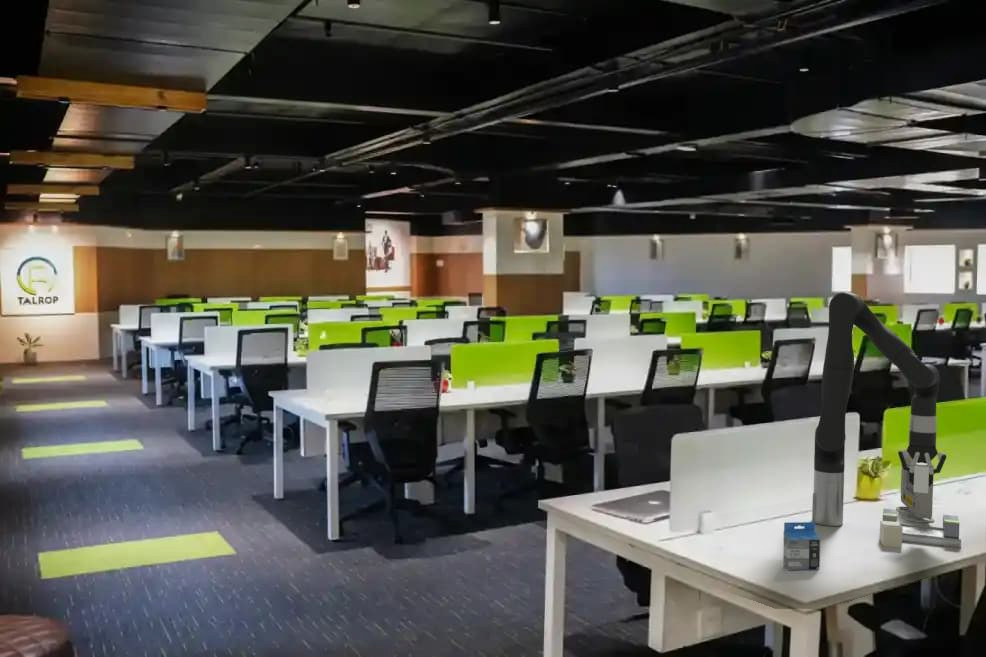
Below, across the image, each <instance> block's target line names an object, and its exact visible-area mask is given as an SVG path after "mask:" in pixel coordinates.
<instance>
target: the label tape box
mask: <svg viewBox="0 0 986 657" xmlns="http://www.w3.org/2000/svg"><path fill="white" fill-rule="evenodd" d="M783 524H784V525H783V527H784V528H783V551H782V552H783V557H782V558H783V559H782V560H783V562H782V563H783V565H782V566H783V567H784V568H785V569H786V570H787V571H801V570H802V571H804V570H806V571H807V570H808V571H809V570H810V571H814V570H817V571H818V570H819V571H820V566H821V565H820V564H821V562H820V561H821V558H820V556H821V555H820V554H821V553H820V552H821V539H820V538H819V536H818V534H817V532H816V531H815V530H816V523H815V522H812V521H810V522H805V521H803V522H798V521H797V522H791V521H789V522H784V523H783ZM799 526H800V527H804V528H797V527H799Z"/></svg>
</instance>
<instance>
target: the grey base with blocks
mask: <svg viewBox="0 0 986 657" xmlns="http://www.w3.org/2000/svg"><path fill="white" fill-rule="evenodd" d="M882 521H892V522H898V511H897V510H896V509H892V508H891V509H890V508H882ZM899 524H900V525H901V526H902V542H906V541H907V543H914V542H916V543H917V544H923V543H924V544H926V545H932V544H933V546H940V545H944V546H943V547H949V546H951V547H952V548H959V549H960V548H962V538H961V536H960V520H959V516H957V515H951V514H942V527H941V526H932V525H931V526H930V525H924V524H923V525H921V524H913V523H904V522H899ZM951 547H950V548H951Z"/></svg>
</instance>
